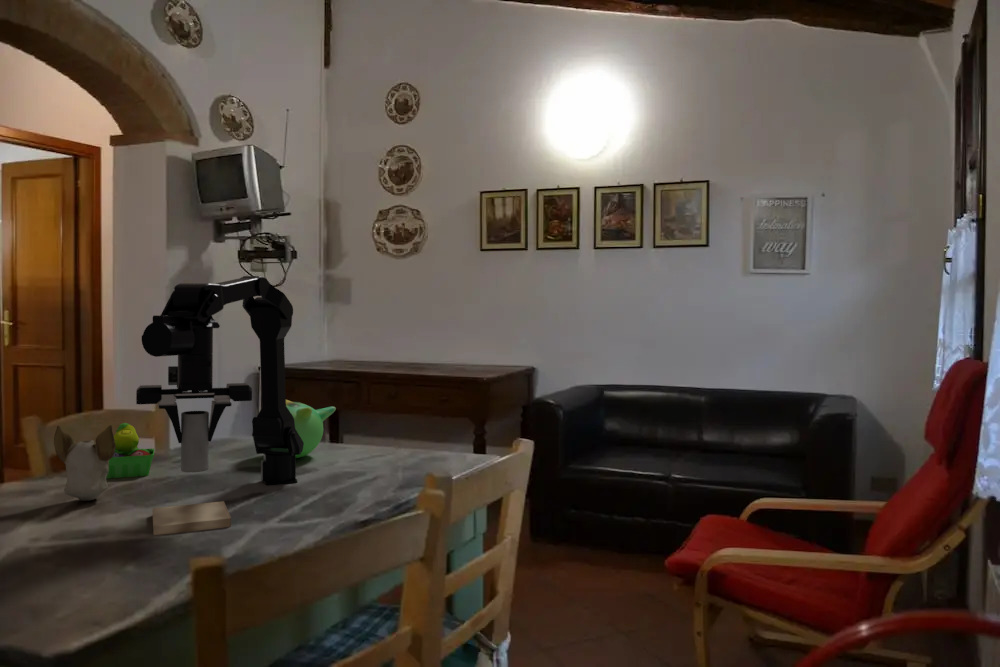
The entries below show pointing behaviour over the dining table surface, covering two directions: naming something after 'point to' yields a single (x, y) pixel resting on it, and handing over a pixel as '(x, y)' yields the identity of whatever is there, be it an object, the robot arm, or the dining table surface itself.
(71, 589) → the dining table surface
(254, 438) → the robot arm
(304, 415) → the toy bird
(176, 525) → the oak block
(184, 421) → the grey hollow cylinder
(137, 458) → the fruit basket
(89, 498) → the white eared plush toy
